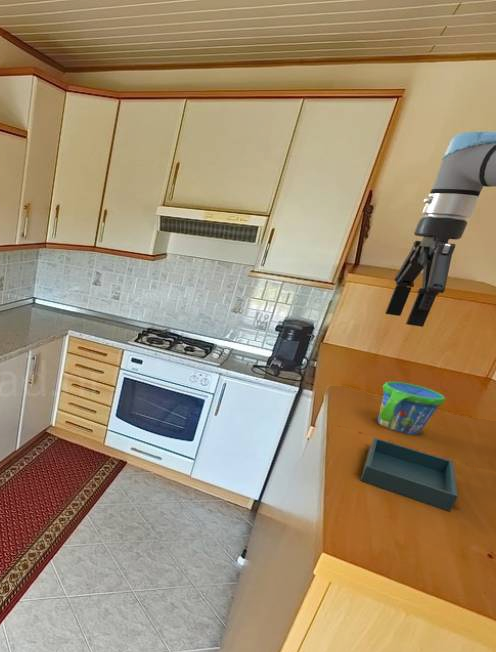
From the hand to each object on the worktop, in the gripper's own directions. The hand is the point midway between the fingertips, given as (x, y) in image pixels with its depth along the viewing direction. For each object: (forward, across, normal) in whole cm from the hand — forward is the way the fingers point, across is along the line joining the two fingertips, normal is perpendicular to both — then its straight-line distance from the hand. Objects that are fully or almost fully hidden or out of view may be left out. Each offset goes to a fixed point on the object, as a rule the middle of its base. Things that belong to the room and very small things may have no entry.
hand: (402, 319), depth 106 cm
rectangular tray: (+25, +29, 0) cm, 38 cm away
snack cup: (+25, +1, +7) cm, 26 cm away
